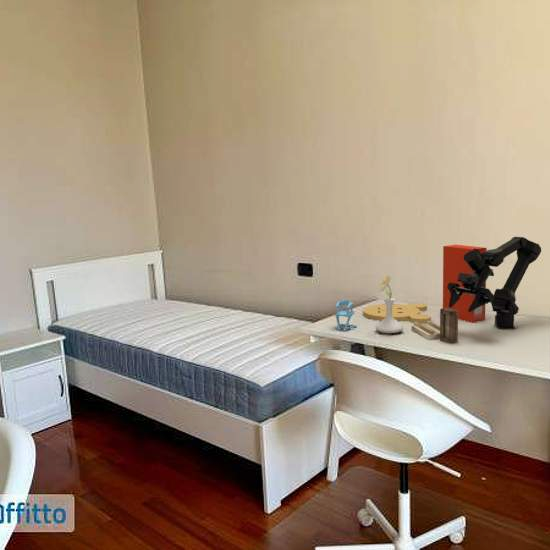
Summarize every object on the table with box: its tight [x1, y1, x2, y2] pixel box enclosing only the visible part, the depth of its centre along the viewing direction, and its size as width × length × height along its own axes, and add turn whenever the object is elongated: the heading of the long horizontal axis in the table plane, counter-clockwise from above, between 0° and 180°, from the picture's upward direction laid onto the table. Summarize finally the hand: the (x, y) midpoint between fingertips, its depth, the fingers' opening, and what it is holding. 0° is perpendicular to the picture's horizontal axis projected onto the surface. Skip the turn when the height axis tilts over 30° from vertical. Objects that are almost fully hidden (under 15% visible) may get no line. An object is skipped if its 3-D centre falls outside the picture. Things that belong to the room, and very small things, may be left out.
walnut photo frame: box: [439, 307, 459, 345], centre depth 201 cm, size 3×6×12 cm, turn 31°
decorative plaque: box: [362, 302, 432, 325], centre depth 246 cm, size 31×3×30 cm
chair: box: [334, 299, 357, 332], centre depth 224 cm, size 8×8×12 cm
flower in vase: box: [375, 273, 404, 334], centre depth 215 cm, size 13×11×25 cm
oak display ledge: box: [411, 320, 440, 341], centre depth 212 cm, size 9×15×3 cm, turn 11°
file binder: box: [442, 244, 488, 324], centre depth 233 cm, size 8×17×32 cm, turn 27°
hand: (459, 309), depth 203 cm, fingers open, 9 cm apart
